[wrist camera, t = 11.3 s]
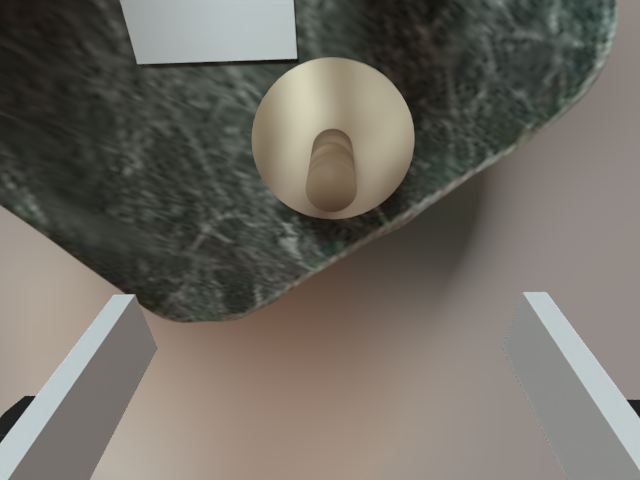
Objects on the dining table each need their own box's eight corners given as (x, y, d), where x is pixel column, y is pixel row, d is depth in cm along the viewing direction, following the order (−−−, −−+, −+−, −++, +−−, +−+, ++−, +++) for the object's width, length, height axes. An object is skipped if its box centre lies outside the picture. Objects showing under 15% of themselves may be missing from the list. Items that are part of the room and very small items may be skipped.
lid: (264, 213, 34) (243, 272, 26) (243, 59, 27) (207, 79, 19) (403, 212, 33) (424, 272, 26) (420, 54, 26) (454, 72, 19)
